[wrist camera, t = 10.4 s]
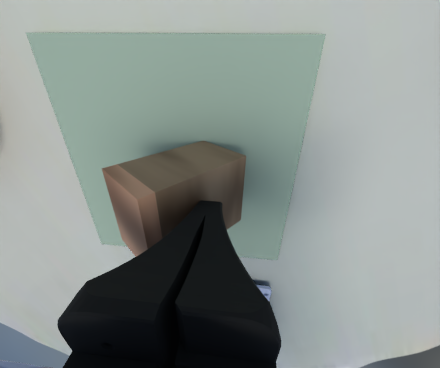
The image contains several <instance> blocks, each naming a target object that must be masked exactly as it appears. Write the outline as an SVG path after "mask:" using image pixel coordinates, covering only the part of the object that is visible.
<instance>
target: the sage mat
mask: <svg viewBox="0 0 440 368" xmlns="http://www.w3.org/2000/svg"><path fill="white" fill-rule="evenodd" d="M26 34H27V37H28V40H29V43H30V46H31V48H32V51H33V54H34V57H35V60H36V62H37V65H38V68H39V71H40V73H41V76H42V79H43V82H44V85H45V87H46V90H47V93H48V96H49V99H50V101H51V104H52V107H53V110H54V112H55V115H56V118H57V121H58V124H59V126H60V129H61V132H62V135H63V138H64V140H65V143H66V146H67V149H68V151H69V154H70V157H71V160H72V163H73V165H74V168H75V171H76V174H77V177H78V179H79V182H80V185H81V188H82V191H83V193H84V196H85V199H86V202H87V204H88V207H89V210H90V213H91V216H92V218H93V221H94V224H95V227H96V230H97V232H98V235H99V238H100V241H101V243H102V244H107V245H118V246H127V245H126V244H125V243H124V241H123V240H122V238H121V234H120V231H119V227H118V224H117V220H116V217H115V213H114V210H113V206H112V203H111V199H110V196H109V192H108V189H107V186H106V182H105V179H104V175H103V172H102V168H105V167H109V166H113V165H116V164H120V163H123V162H127V161H131V160H134V159H138V158H142V157H145V156H149V155H153V154H156V153H160V152H163V151H167V150H171V149H174V148H178V147H182V146H185V145H189V144H193V143H196V142H200V141H206V142H209V143H212V144H215V145H217V146H220V147H223V148H226V149H229V150H231V151H234V152H237V153H240V154H243V155H246V166H245V177H244V189H243V201H242V213H241V220H240V221H239V222H237V223H236V224H234V225H233V226H231V227H230V228H229V229H227V232H228V235H229V238H230V240H231V243H232V245H233V247H234V249H235V251H236V253H237V255H238V257H248V258H258V259H269V260H277V259H278V254H279V250H280V245H281V240H282V236H283V231H284V226H285V222H286V217H287V212H288V208H289V203H290V198H291V194H292V189H293V184H294V180H295V175H296V170H297V166H298V161H299V156H300V152H301V147H302V142H303V138H304V133H305V128H306V124H307V119H308V114H309V110H310V105H311V100H312V96H313V91H314V86H315V82H316V77H317V72H318V68H319V63H320V58H321V54H322V49H323V44H324V40H325V35H326V34H202V33H26Z"/></svg>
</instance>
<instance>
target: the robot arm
mask: <svg viewBox="0 0 440 368" xmlns="http://www.w3.org/2000/svg"><path fill="white" fill-rule="evenodd" d="M270 296H271V288H270V287H269V286H262V285H256V284H255V283H254V281H253V280H252V278H251V277H250V276H249V274H248V272H247V271H246V269H245V267H244V266H243V264H242V262H241V261H240V259H239V257H238V255H237V253H236V251H235V249H234V247H233V245H232V243H231V240H230V238H229V235H228V232H227V229H226V226H225V222H224V218H223V213H222V203H221V202H217V201H204V200H201V201H199V202H198V203H197V205H196V206H195V207H194V208H193V209H192V211H191V212H190V213H189V214H188V215H187V216H186V217H185V218H184V219H183V220H182V221H181V222H180V223H179V224H178V225H177V226H176V227H175V228H174V229H173V230H172V231H171V232H170V233H168V234H167V235H166V236H165V237H164V238H162V239H161V240H160V241H159V242H157V243H156V244H155V245H153V246H152V247H150V248H149V249H147V250H146V251H144V252H143V253H141V254H140V255H138V256H136V257H135V258H133V259H131V260H130V261H128V262H126V263H124V264H122V265H120V266H119V267H117V268H115V269H113V270H111V271H109V272H106V273H104V274H102V275H100V276H98V277H96V278H94V279H91V280H89V281H87V282H86V283H85V284H84V286H83V287H82V288H81V289H80V290H79V292H78V293H77V294H76V296H75V297H74V299H73V300H72V301H71V303H70V304H69V306H68V307H67V308H66V310H65V311H64V312H63V314H62V315H61V317H60V318H59V319H58V329H59V331H60V333H61V335H62V336H63V338H64V339H65V341H66V342H67V344H68V345H69V346H70V348H71V349H72V353H71V355H70V356H69V358H68V360H67V361H66V363H65V365H64V366H63V368H276V360H277V357H278V354H279V351H280V348H281V338H280V333H279V329H278V325H277V322H276V319H275V316H274V313H273V310H272V308H271V305H270V302H269V301H270ZM0 368H51V367H44V366H38V365H31V364H24V363H17V362H10V361H4V360H0Z"/></svg>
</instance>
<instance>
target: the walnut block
mask: <svg viewBox="0 0 440 368" xmlns="http://www.w3.org/2000/svg"><path fill="white" fill-rule="evenodd" d="M245 166H246V155H243V154H240V153H237V152H234V151H231V150H229V149H226V148H223V147H220V146H217V145H215V144H212V143H209V142H206V141H200V142H196V143H193V144H189V145H185V146H182V147H178V148H174V149H171V150H167V151H163V152H160V153H156V154H153V155H149V156H145V157H142V158H138V159H134V160H131V161H127V162H123V163H120V164H116V165H113V166H109V167H105V168H102V172H103V175H104V179H105V182H106V186H107V189H108V192H109V196H110V199H111V203H112V206H113V210H114V213H115V217H116V220H117V224H118V227H119V231H120V234H121V238H122V240H123V241H124V243H125V244H126V245H127V246H128V248H129V249H130V250H131V251H132V253H133V254H134V255H135V256H138V255H140V254H141V253H143V252H144V251H146V250H147V249H149V248H150V247H152V246H153V245H155V244H156V243H157V242H159V241H160V240H161V239H162V238H164V237H165V236H166V235H167V234H168V233H170V232H171V231H172V230H173V229H174V228H175V227H176V226H177V225H178V224H179V223H180V222H181V221H182V220H183V219H184V218H185V217H186V216H187V215H188V214H189V213H190V212H191V211H192V209H193V208H194V207H195V206H196V205H197V203H198V202H199V201H201V200H204V201H217V202H221V203H222V213H223V218H224V222H225V226H226V229H229V228H230V227H231V226H233V225H234V224H236V223H237V222H239V221H240V220H241V213H242V201H243V189H244V177H245Z"/></svg>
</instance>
